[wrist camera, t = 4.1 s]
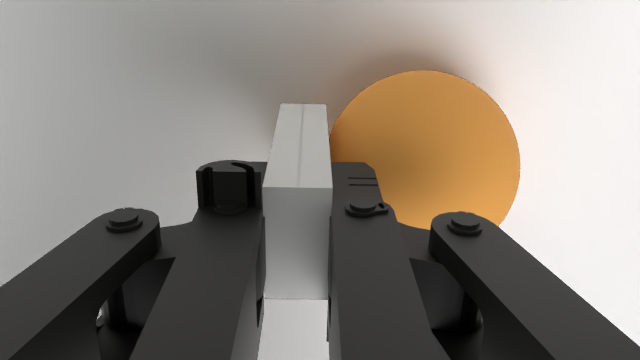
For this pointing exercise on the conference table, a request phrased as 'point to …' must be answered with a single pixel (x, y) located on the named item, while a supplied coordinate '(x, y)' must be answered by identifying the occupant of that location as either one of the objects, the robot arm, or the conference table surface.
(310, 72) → the conference table surface
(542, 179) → the conference table surface
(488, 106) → the ball
